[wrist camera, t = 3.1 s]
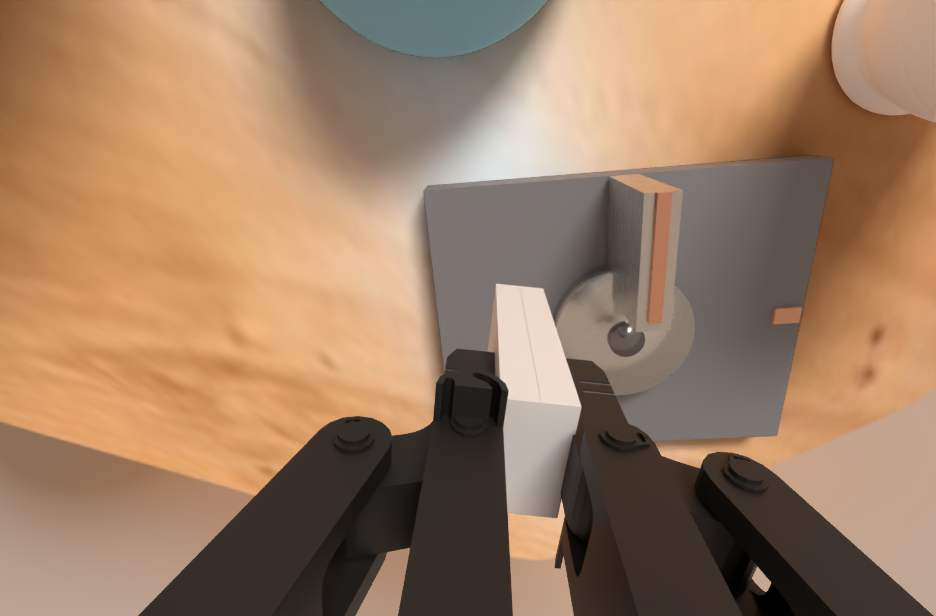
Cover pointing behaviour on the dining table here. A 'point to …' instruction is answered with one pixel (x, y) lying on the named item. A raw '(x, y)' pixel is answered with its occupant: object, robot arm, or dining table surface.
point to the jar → (887, 55)
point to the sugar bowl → (434, 23)
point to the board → (697, 275)
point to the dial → (632, 292)
